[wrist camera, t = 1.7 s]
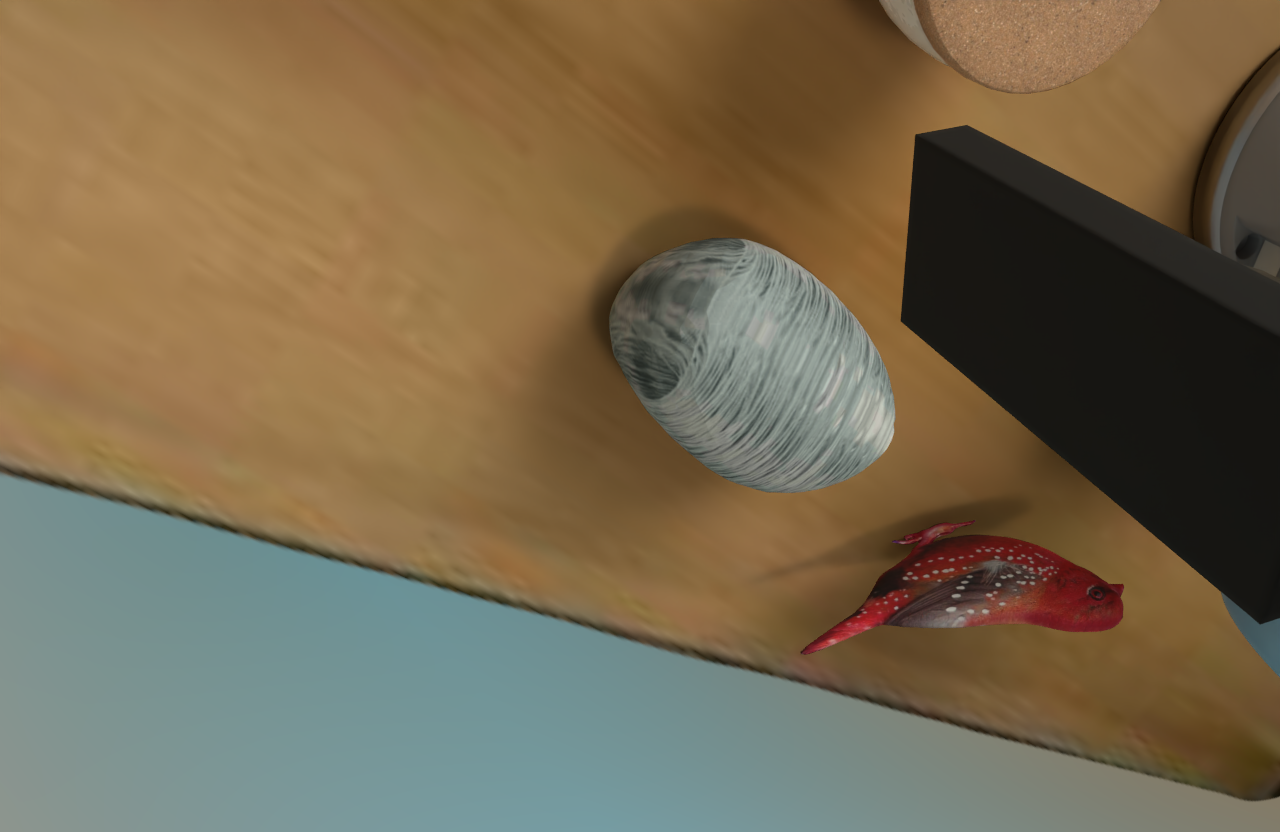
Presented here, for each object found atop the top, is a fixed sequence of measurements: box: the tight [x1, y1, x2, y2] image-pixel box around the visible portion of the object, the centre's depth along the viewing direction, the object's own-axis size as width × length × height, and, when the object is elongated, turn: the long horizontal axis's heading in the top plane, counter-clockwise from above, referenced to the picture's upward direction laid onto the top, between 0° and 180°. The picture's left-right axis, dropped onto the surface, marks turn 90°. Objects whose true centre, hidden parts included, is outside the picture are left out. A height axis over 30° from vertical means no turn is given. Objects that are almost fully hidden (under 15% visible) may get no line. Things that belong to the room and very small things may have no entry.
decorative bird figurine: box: [800, 520, 1124, 655], centre depth 56 cm, size 3×18×10 cm, turn 93°
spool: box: [609, 238, 895, 493], centre depth 46 cm, size 14×10×10 cm
